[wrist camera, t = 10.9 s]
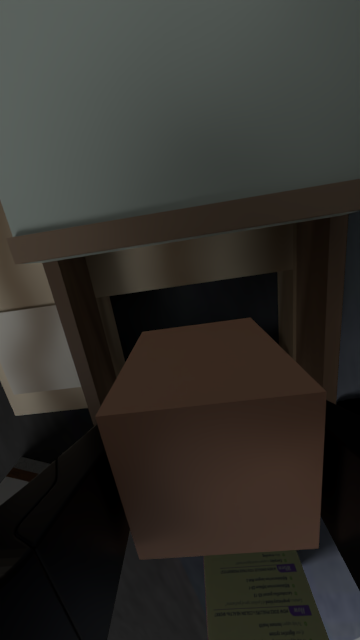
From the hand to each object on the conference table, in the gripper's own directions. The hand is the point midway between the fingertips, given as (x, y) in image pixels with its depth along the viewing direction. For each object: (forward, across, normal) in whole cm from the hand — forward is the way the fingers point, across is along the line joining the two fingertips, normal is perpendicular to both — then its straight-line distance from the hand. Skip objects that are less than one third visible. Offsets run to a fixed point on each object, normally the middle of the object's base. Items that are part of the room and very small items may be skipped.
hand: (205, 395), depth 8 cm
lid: (+4, 0, -10) cm, 11 cm away
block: (+2, 0, 0) cm, 2 cm away
